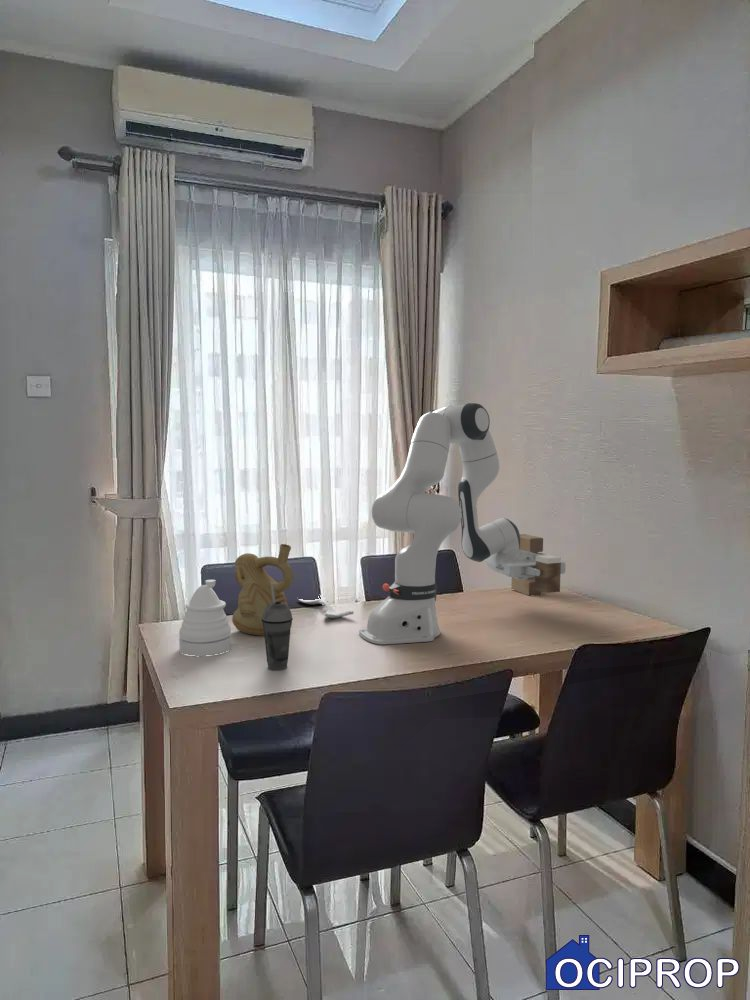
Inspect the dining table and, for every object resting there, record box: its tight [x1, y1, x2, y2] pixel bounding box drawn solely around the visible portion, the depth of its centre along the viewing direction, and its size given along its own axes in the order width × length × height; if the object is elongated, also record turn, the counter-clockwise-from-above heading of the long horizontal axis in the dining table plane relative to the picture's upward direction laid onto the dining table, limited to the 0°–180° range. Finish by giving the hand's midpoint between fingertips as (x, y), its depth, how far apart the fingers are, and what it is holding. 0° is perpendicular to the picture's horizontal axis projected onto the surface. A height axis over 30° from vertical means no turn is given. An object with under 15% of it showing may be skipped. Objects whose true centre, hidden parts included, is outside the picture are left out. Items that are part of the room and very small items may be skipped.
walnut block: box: [535, 554, 562, 594], centre depth 199 cm, size 5×5×10 cm
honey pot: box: [178, 579, 232, 656], centre depth 175 cm, size 13×13×18 cm
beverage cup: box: [262, 584, 294, 671], centre depth 161 cm, size 7×7×20 cm
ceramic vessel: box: [231, 543, 294, 636], centre depth 192 cm, size 17×20×25 cm
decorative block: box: [511, 533, 544, 597], centre depth 242 cm, size 11×6×20 cm, turn 23°
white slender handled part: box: [297, 594, 355, 619], centre depth 217 cm, size 9×32×4 cm, turn 24°
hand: (549, 572), depth 198 cm, fingers closed on walnut block, 5 cm apart
